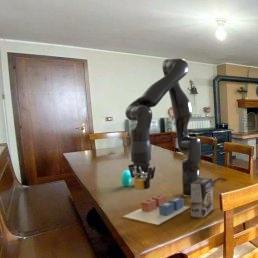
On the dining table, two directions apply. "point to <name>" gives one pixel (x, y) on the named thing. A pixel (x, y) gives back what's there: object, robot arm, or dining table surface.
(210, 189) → the coffee box
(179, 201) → the right block
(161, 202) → the left block
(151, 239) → the dining table surface
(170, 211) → the right block
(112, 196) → the dining table surface
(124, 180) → the donuts
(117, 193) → the dining table surface
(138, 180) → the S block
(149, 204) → the left block
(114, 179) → the dining table surface
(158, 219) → the board
